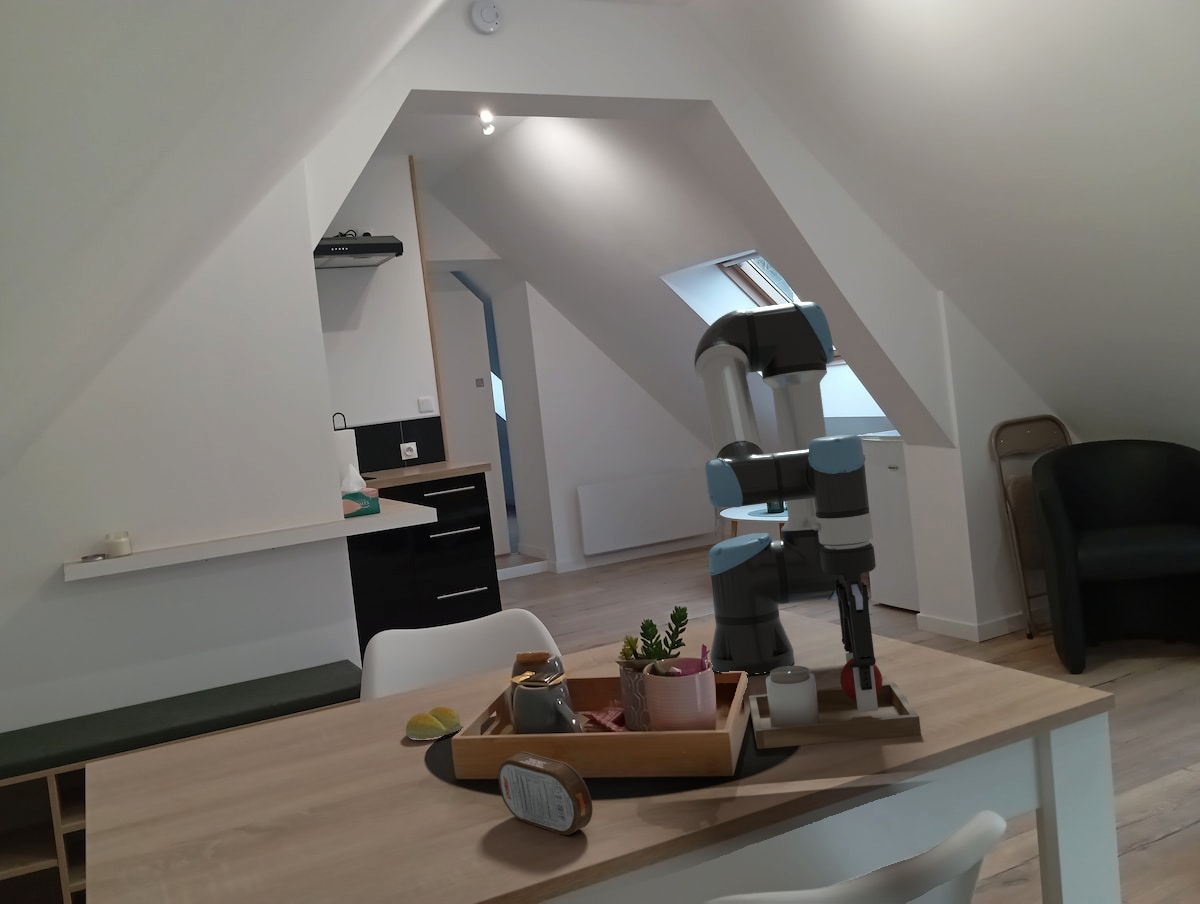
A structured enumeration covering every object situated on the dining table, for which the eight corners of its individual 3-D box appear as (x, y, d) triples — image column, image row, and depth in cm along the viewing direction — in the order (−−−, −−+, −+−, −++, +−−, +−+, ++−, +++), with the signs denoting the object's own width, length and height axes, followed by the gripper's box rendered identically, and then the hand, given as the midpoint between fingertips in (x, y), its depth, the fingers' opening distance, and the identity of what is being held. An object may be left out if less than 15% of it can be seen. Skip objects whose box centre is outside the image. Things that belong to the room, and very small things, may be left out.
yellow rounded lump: (399, 736, 166) (396, 713, 165) (448, 722, 170) (445, 699, 170) (419, 747, 159) (415, 723, 158) (469, 731, 164) (466, 708, 163)
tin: (598, 834, 118) (589, 765, 117) (579, 845, 116) (569, 774, 115) (517, 808, 129) (509, 744, 128) (498, 817, 127) (490, 753, 126)
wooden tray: (751, 718, 152) (748, 695, 152) (897, 705, 150) (895, 682, 150) (758, 755, 136) (755, 730, 136) (921, 741, 134) (919, 716, 134)
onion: (889, 709, 140) (883, 653, 139) (848, 714, 140) (842, 658, 140) (878, 697, 146) (873, 643, 145) (839, 701, 146) (833, 647, 145)
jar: (769, 719, 148) (763, 666, 147) (816, 715, 147) (810, 662, 147) (773, 736, 141) (766, 680, 140) (823, 731, 140) (816, 675, 140)
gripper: (811, 537, 151) (828, 686, 152) (828, 557, 133) (847, 727, 134) (861, 532, 151) (878, 682, 152) (885, 551, 132) (904, 722, 133)
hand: (863, 703), depth 143 cm, fingers closed on onion, 6 cm apart
